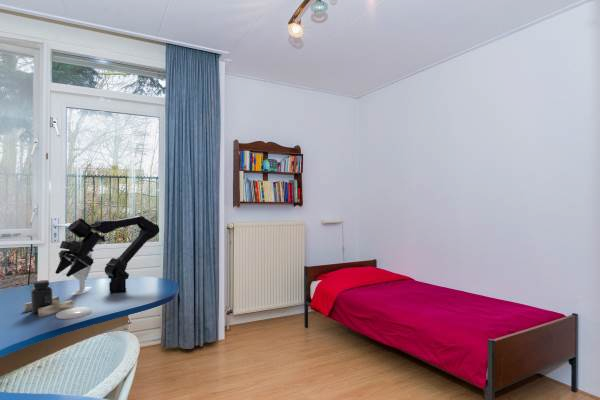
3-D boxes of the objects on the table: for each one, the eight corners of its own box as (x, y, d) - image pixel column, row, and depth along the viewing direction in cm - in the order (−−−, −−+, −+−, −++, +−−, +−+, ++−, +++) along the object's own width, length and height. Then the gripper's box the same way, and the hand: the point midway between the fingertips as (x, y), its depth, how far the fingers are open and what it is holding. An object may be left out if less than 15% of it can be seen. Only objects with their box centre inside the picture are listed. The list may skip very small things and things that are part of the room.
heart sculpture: (81, 294, 163) (80, 256, 163) (69, 295, 162) (68, 256, 162) (94, 285, 178) (93, 250, 178) (83, 286, 178) (82, 250, 177)
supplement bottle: (50, 307, 146) (50, 278, 146) (54, 311, 141) (53, 281, 141) (30, 311, 141) (29, 281, 141) (32, 315, 136) (32, 284, 136)
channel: (57, 302, 152) (57, 295, 152) (73, 307, 145) (73, 300, 145) (24, 311, 141) (24, 303, 141) (39, 316, 135) (39, 309, 135)
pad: (93, 306, 147) (93, 305, 147) (90, 316, 136) (90, 314, 136) (59, 310, 142) (59, 309, 142) (52, 320, 131) (52, 319, 131)
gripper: (62, 231, 156) (34, 261, 147) (84, 234, 146) (56, 267, 138) (82, 246, 163) (56, 275, 155) (104, 250, 153) (78, 281, 145)
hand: (61, 274), depth 148 cm, fingers open, 9 cm apart
